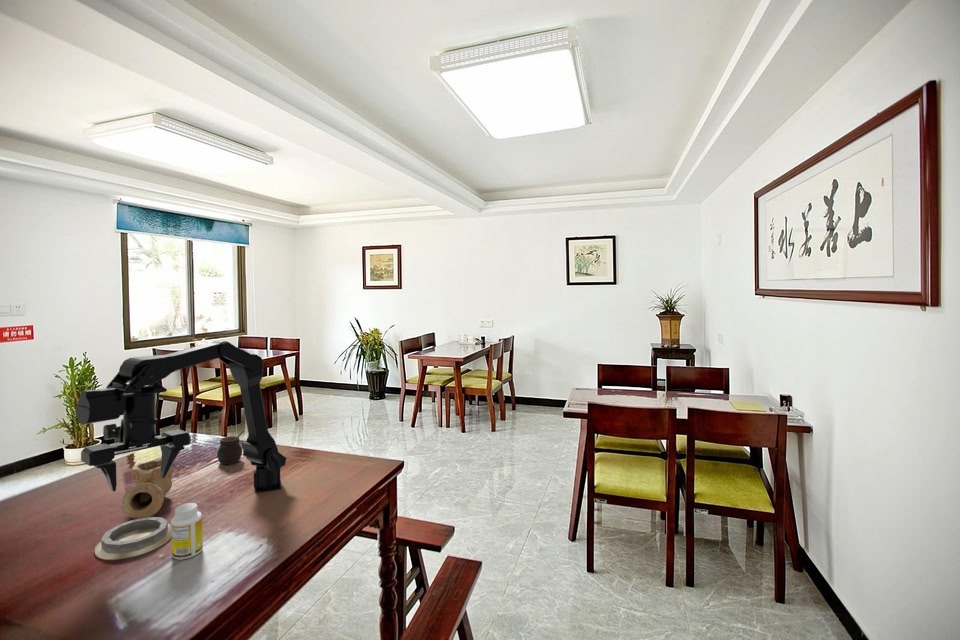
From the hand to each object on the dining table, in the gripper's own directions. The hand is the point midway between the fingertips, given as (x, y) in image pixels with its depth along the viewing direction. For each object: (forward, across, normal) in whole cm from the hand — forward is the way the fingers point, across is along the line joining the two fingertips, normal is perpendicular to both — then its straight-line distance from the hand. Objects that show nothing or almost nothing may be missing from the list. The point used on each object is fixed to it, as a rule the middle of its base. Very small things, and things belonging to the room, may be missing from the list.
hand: (139, 484), depth 99 cm
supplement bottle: (+13, -4, +14) cm, 19 cm away
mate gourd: (+12, -36, -30) cm, 49 cm away
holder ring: (+13, 0, -1) cm, 13 cm away
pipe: (+13, -9, -17) cm, 23 cm away
